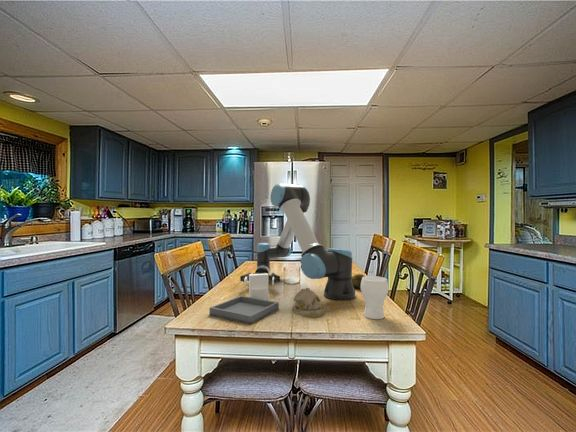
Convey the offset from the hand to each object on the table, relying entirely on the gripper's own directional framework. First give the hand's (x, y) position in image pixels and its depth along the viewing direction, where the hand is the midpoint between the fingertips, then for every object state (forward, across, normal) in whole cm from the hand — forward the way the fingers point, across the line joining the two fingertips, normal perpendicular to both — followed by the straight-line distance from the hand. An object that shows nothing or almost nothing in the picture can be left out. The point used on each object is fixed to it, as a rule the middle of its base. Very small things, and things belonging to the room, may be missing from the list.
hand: (258, 282), depth 153 cm
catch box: (+24, +4, -7) cm, 25 cm away
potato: (-17, -52, -7) cm, 55 cm away
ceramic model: (+23, -22, -7) cm, 33 cm away
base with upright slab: (+7, 0, -7) cm, 10 cm away
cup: (+28, -48, -7) cm, 56 cm away
